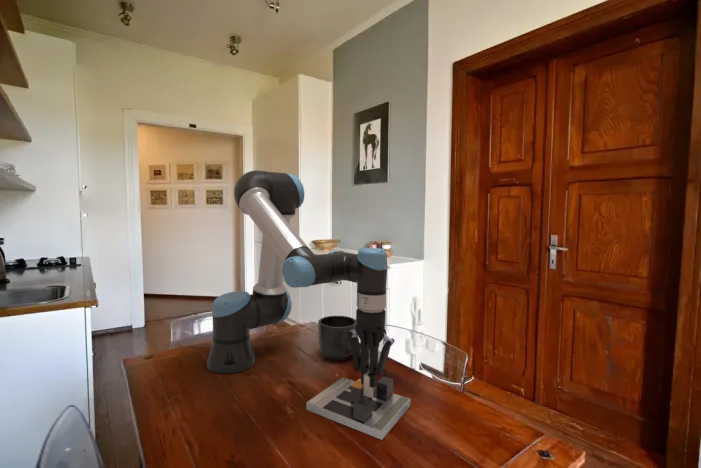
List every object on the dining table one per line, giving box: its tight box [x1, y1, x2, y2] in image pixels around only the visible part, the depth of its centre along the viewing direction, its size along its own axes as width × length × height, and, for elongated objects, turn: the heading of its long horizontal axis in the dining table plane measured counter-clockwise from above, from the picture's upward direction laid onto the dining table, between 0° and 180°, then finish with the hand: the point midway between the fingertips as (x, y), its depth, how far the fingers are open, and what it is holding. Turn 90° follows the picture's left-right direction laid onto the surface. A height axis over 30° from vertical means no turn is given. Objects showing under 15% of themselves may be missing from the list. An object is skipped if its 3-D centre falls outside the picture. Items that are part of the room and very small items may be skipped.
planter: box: [317, 315, 357, 362], centre depth 127 cm, size 14×14×13 cm
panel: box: [305, 376, 412, 441], centre depth 94 cm, size 22×17×6 cm
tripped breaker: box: [351, 378, 364, 402], centre depth 94 cm, size 3×4×4 cm
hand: (368, 397), depth 93 cm, fingers closed
